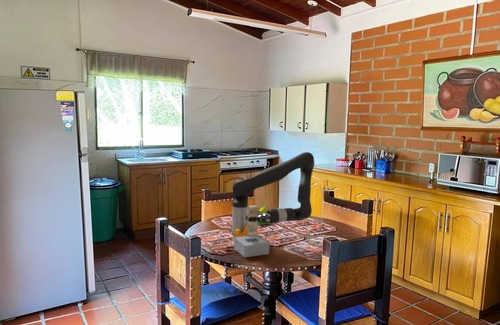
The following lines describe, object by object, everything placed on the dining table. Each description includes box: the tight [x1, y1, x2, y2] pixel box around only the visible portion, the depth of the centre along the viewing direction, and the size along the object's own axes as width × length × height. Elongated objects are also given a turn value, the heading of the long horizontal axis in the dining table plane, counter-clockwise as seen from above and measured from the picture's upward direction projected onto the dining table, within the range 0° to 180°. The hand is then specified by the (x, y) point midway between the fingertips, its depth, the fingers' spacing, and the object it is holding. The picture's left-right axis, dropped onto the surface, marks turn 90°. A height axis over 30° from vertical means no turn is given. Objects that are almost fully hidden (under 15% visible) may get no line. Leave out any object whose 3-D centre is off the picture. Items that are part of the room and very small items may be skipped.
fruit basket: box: [257, 205, 268, 226], centre depth 242 cm, size 11×9×11 cm
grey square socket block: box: [233, 234, 270, 258], centre depth 188 cm, size 14×14×6 cm
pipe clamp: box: [233, 225, 247, 237], centre depth 208 cm, size 12×4×6 cm, turn 146°
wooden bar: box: [247, 204, 259, 237], centre depth 187 cm, size 3×4×16 cm
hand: (247, 218), depth 186 cm, fingers closed on wooden bar, 3 cm apart
